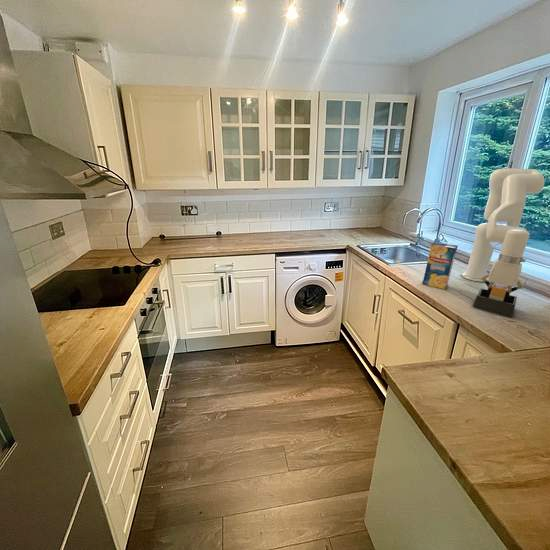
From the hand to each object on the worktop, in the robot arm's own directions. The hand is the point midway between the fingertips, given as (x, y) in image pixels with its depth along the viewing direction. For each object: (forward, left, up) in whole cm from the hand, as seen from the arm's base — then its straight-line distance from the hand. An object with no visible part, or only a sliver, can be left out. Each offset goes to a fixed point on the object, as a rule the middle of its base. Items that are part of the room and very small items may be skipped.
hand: (496, 297), depth 128 cm
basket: (0, 0, -5) cm, 5 cm away
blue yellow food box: (-11, -27, -5) cm, 30 cm away
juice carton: (0, 0, -4) cm, 4 cm away
